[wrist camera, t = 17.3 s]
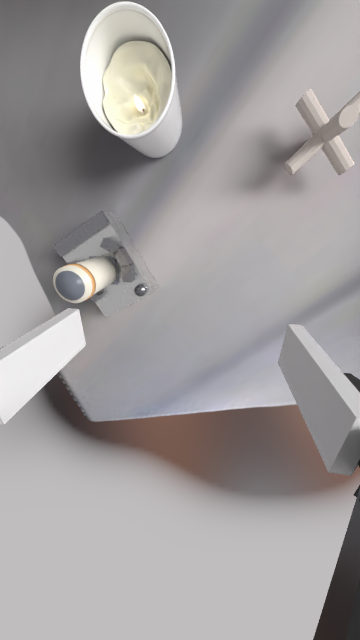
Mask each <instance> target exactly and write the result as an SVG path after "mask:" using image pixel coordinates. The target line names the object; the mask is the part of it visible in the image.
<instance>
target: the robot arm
mask: <svg viewBox="0 0 360 640" xmlns="http://www.w3.org/2000/svg"><path fill="white" fill-rule="evenodd" d="M85 345H86V343H85V338H84V333H83V328H82V322H81V317H80V312H79V309H70V308H68V309H66V310H64V311H63V312H61V313H59V314H58V315H56V316H54V317H53V318H51V319H50V320H48V321H46V322H45V323H43V324H41V325H40V326H38V327H36V328H35V329H33V330H31V331H29V332H28V333H26V334H24V335H23V336H22V337H19V338H18V339H16V340H15V341H13V342H12V343H10V344H8V345H6V346H5V347H2V348H1V349H0V424H3V425H4V424H5V423H6V422H7V421H8V420H9V419H10V418H11V417H13V415H15V413H17V412H18V411H19V410H20V409H21V408H22V407H23V406H24V405H25V404H26V403H27V402H28V401H29V400H30V399H31V398H32V397H33V396H34V395H35V394H36V393H37V392H38V391H39V390H40V389H41V388H42V387H43V386H44V385H45V384H46V383H47V382H48V381H49V380H50V379H51V378H53V376H55V375H56V374H57V373H58V372H59V371H60V370H61V369H62V368H63V367H64V366H65V365H66V364H67V363H68V362H69V361H70V360H71V359H72V358H73V357H74V356H75V355H76V354H77V353H78V352H79V351H80V350H81V349H82V348H83V347H84V346H85ZM278 364H279V366H280V368H281V370H282V372H283V375H284V377H285V379H286V381H287V383H288V385H289V388H290V390H291V392H292V394H293V396H294V398H295V400H296V403H297V405H298V407H299V409H300V411H301V413H302V416H303V418H304V420H305V422H306V424H307V426H308V429H309V431H310V433H311V435H312V437H313V439H314V441H315V443H316V446H317V448H318V450H319V452H320V454H321V456H322V459H323V461H324V463H325V465H326V467H327V470H328V472H331V473H338V474H345V475H352V474H353V472H354V471H355V469H356V467H357V466H358V465H359V467H360V380H359V379H358V378H356V377H355V376H353V375H352V374H349V373H343V372H342V371H341V370H340V369H339V368H338V367H337V366H336V364H335V363H334V362H333V361H332V360H331V359H330V357H329V356H328V355H327V354H326V353H325V352H324V350H323V349H322V348H321V347H320V346H319V345H318V343H317V342H316V341H315V340H314V339H313V338H312V336H311V335H310V334H309V333H308V332H307V331H306V330H305V328H304V327H303V326H302V325H293V324H288V326H287V330H286V334H285V337H284V341H283V345H282V349H281V353H280V357H279V361H278ZM354 496H356V497H357V499H356V502H355V505H354V509H353V512H352V515H351V519H350V522H349V525H348V528H347V532H346V535H345V538H344V541H343V545H342V548H341V551H340V554H339V558H338V561H337V564H336V568H335V571H334V574H333V577H332V580H331V584H330V587H329V590H328V593H327V597H326V600H325V603H324V607H323V610H322V613H321V616H320V619H319V623H318V626H317V629H316V632H315V636H314V639H313V640H360V486H359V487H358V489H357V490H356V492H355V494H354Z"/></svg>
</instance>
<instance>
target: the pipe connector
mask: <svg viewBox="0 0 360 640" xmlns="http://www.w3.org/2000/svg"><path fill="white" fill-rule="evenodd" d="M295 106H296V107H297V109H298V110H299V112H300V114H301V115H302V117H303V119H304V120H305V122H306V124H307V125H308V127H309V128H310V130H311V132H312V133H313V136H312V137H310V138H309V139H308V140H307V141H306V142H305V143H304V144H303V146H302V147H301V148H300V149H299V150H298V151H297V152H296V153H295V154H294V155H293V156H292V157H291V158H289V159H288V160H287V161H286V162H285V163H284V167H285V169H286V171H287V172H288V173H289V174H290V175H293V174H294V173H295V172H296V171H297V170H298V169H299V168H301V167H302V166H303V165H304V164H305V163H306V162H307V161H308V160H309V159H310V158H311V157H313V156H314V155H315V154H316V153H317V152H318V151H319V150H320V149H321V148H322V150H323V151H324V153H325V154H326V156H327V158H328V159H329V161H330V163H331V164H332V166H333V168H334V169H335V171H336V172H337V174H338V175H341V174H342V173H344V172H345V171H347V170H348V169H349V168H351V167H352V166H353V165H354V164H355V163H354V161H353V159H352V158H351V156H350V154H349V153H348V151H347V149H346V147H345V146H344V144H343V142H342V141H341V139H340V137H339V134H341V133H342V132H343V131H345V130H346V129H348V128H349V127H351V126H352V125H353V124H354V123H355V122H356V121H357V119H358V116H359V114H360V92H359V93H358V94H357V95H356V96H355V97H354V98H352V99H351V100H350V101H349V102H348V103H347V104H346V105H345V106H344V107H343V108H342V109H341V110H340V111H339V112H338V113H337V114H336V115H335V116H334V117H333V118H331V119H330V120H329V118H328V117H327V115H326V113H325V112H324V110H323V108H322V106H321V105H320V103H319V101H318V100H317V98H316V96H315V94H314V93H313V91H312V89H311V88H310V89H309V90H308V91H307V92H306V93H305V94H304V95H303V97H302V98H301V99H300V100H299V101H298V102H297V104H296V105H295Z"/></svg>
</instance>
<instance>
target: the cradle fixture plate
mask: <svg viewBox="0 0 360 640" xmlns="http://www.w3.org/2000/svg"><path fill="white" fill-rule="evenodd" d="M53 248H54V249H55V251H56V252H57V253H58V255H59V256H60V257H63V258H64V260H65V261H66V262H67V265H68V264H73V263H78V262H81V261H84V260H88V259H89V256H104V257H115V258H116V263H117V273H118V283H119V284H118V285H113V284H110V285H108V286H107V287H105V288H104V289H102V290H100V291H99V292H97V293H95V294H94V295H93V296H92V297H90V298H89V299H90V300H92V301H93V302H95V303H96V305H97V306H98V307H99V309H100V310H101V312H102V313H103V314H104V316H105V317H108V316H110V315H112V314H114V313H116V312H118V311H120V310H121V309H123V308H125V307H127V306H129V305H131V304H133V303H135V302H137V301H139V300H141V299H143V298H145V297H147V296H148V295H150V294H152V293H153V292H154V291H155V290H156V289H157V287H158V286H159V285H158V283H157V282H156V280H155V278H154V277H153V275H152V273H151V272H150V270H149V268H148V266H147V265H146V263H145V261H144V260H143V258H142V256H141V255H140V253H139V251H138V249H137V248H136V246H135V244H134V243H133V241H132V239H131V237H130V236H129V234H128V232H127V231H126V229H125V227H124V226H123V224H122V222H121V220H120V219H119V217H118V215H117V214H116V212H106V211H100V212H99V213H98V214H96V215H95V216H94V217H92V218H91V219H89V220H88V221H87V222H85V223H84V224H83V225H81V226H80V227H79V228H77V229H76V230H74V231H73V232H72V233H70V234H69V235H68V236H66V237H65V238H64V239H62V240H61V241H59V242H58V243H57V244H55V245H54V246H53Z"/></svg>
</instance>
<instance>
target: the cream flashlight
mask: <svg viewBox="0 0 360 640" xmlns="http://www.w3.org/2000/svg"><path fill="white" fill-rule="evenodd" d="M53 284H54V287H55V290H56V292H57V293H58V294H59V296H60V297H62V298H63V299H64V300H66V301H68V302H71V303H80V302H82V301H85V300H87V299H89V298H90V297H92V296H93V295H94V294H95V293H97V292H99V291H100V290H102V289H104V288H105V287H107V286H108V285H110V284H113V285H118V284H119V283H118V273H117V263H116V258H115V257H104V256H89V259H88V260H84V261H81V262H78V263H73V264H68V265H65V266H63V267H61V268H59V269H58V270H57V271H56V272H55V274H54V276H53Z"/></svg>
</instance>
